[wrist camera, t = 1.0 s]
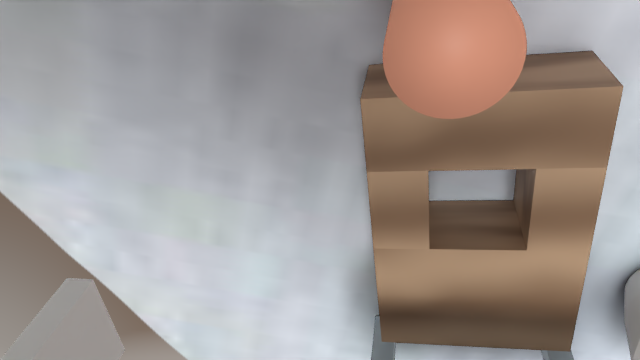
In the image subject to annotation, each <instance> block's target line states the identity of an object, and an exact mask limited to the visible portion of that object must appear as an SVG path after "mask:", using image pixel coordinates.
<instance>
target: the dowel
mask: <svg viewBox="0 0 640 360" xmlns="http://www.w3.org/2000/svg"><path fill="white" fill-rule="evenodd" d="M526 51H527V40H526V33H525V29H524V25H523V23H522V20H521V18H520V16H519V14H518V13H517V11H516V9H515V8H514V6H513V4H512V3H511V1H510V0H393V1H392V6H391V11H390V16H389V21H388V26H387V31H386V35H385V40H384V46H383V67H384V71H385V75H386V78H387V80H388V83H389V85H390V87H391V88H392V90H393V92H394V93H395V94H396V95H397V97H398V98H399V99H400V100H401V101H402V102H403V103H404V104H406V105H407V106H408V107H410V108H411V109H413V110H415V111H417V112H418V113H421V114H423V115H426V116H430V117H434V118H440V119H458V118H464V117H469V116H472V115H475V114H478V113H480V112H482V111H484V110H486V109H488V108H490V107H491V106H493V105H494V104H496V103H497V102H498V101H500V100H501V99H502V98H503V97H504V96H505V95H506V94H507V93H508V92H509V91H510V89H511V88H512V87H513V86H514V84H515V82H516V81H517V79H518V78H519V75H520V73H521V71H522V69H523V65H524V62H525V57H526Z"/></svg>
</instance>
